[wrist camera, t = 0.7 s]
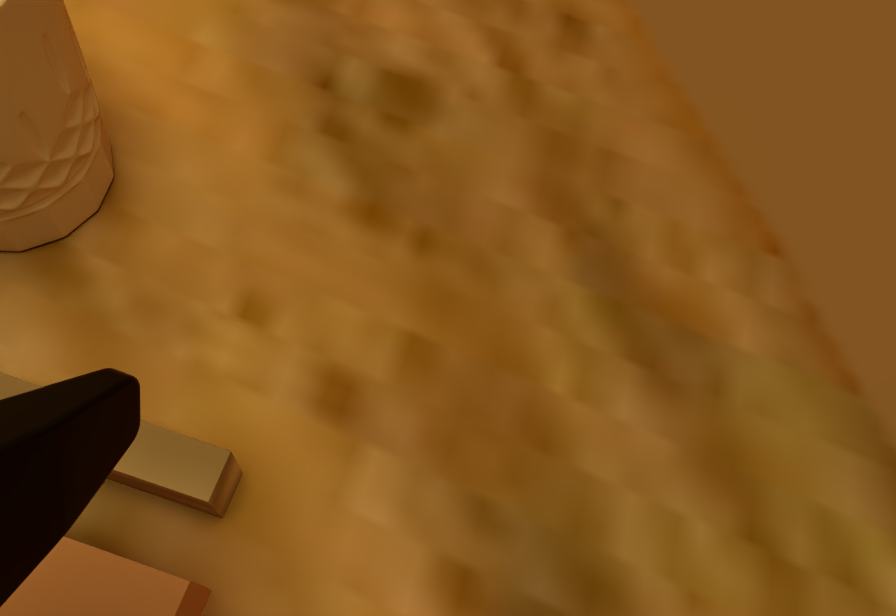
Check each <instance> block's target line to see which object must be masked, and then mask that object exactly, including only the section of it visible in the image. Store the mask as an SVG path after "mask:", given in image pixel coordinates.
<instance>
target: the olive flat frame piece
mask: <svg viewBox="0 0 896 616" xmlns="http://www.w3.org/2000/svg"><path fill="white" fill-rule="evenodd" d="M41 387H42V386H39V385H36V384H33V383H30V382H27V381H24V380H21V379H18V378H15V377H12V376H9V375H7V374H4V373H1V372H0V400H1V399H4V398H8V397H11V396H14V395H18V394H21V393H24V392H28V391H31V390H34V389H38V388H41ZM241 475H242V471H241V469H240V467H239V465H238V464H237V462H236V460H235V458H234V456H233V454H232V452H231V451H229V450H226V449H223V448H220V447H217V446H214V445H211V444H208V443H205V442H202V441H199V440H197V439H194V438H191V437H188V436H185V435H182V434H179V433H176V432H173V431H170V430H167V429H164V428H161V427H159V426H156V425H153V424H150V423H147V422H144V421H141V420H140V427H139V431H138V434H137V436H136V438H135V440H134V441H133V443H132V444H131V446H130V447H129V448H128V450H127V451H126V452H125V454H124V455H123V457H122V458H121V459H120V461H119V462H118V463H117V465H116V466H115V468H114V469H113V470H112V472H111V473H110V474H109V476H108V477H107V479H110V480H113V481H116V482H119V483H122V484H125V485H128V486H131V487H134V488H136V489H139V490H142V491H145V492H148V493H151V494H154V495H157V496H160V497H163V498H166V499H169V500H172V501H175V502H177V503H180V504H183V505H186V506H189V507H192V508H195V509H198V510H201V511H204V512H207V513H210V514H213V515H215V516H218V517H221V518H223V516H224V514H225V512H226V509H227V507H228V505H229V502H230V500H231V498H232V495H233V493H234V491H235V489H236V486H237V484H238V482H239V479H240V477H241Z"/></svg>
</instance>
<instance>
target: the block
mask: <svg viewBox="0 0 896 616" xmlns="http://www.w3.org/2000/svg"><path fill="white" fill-rule="evenodd" d="M210 592H211V590H210V589H208V588H205V587H203V586H201V585H198V584H196V583H193V582H191V581H188V580H185V579H183V578H180V577H177V576H174V575H171V574H168V573H166V572H163V571H160V570H157V569H154V568H152V567H149V566H146V565H143V564H140V563H138V562H135V561H132V560H129V559H126V558H123V557H121V556H118V555H115V554H112V553H109V552H107V551H104V550H101V549H98V548H95V547H93V546H90V545H87V544H84V543H81V542H79V541H76V540H73V539H70V538H67V537H64V536H63V538H62V539H61V540H60V541H59V542H58V543H57V545H56V546H55V547H54V548H53V549H52V550H51V551H50V553H49V554H48V555H47V556H46V557H45V558H44V559H43V560H42V561H41V563H40V564H39V565H38V566H37V567H36V568H35V569H34V570H33V572H32V573H31V574H30V575H29V576H28V577H27V578H26V579H25V580H24V582H23V583H22V584H21V585H20V586H19V587H18V588H17V589H16V591H15V592H14V593H13V594H12V595H11V596H10V597H9V598H8V599H7V601H6V602H5V603H4V604H3V605H2V606H1V607H0V616H200V615H201V613H202V610H203V608H204V606H205V604H206V601H207V599H208V597H209V594H210Z"/></svg>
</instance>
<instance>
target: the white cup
mask: <svg viewBox="0 0 896 616" xmlns="http://www.w3.org/2000/svg"><path fill="white" fill-rule="evenodd" d="M113 178H114V172H113V162H112V152H111V143H110V140H109V137H108V134H107V132H106V129H105V126H104V124H103V121H102V119H101V116H100V111H99V106H98V102H97V98H96V95H95V91H94V88H93V85H92V82H91V79H90V77H89V75H88V71H87V67H86V64H85V60H84V57H83V54H82V51H81V48H80V45H79V42H78V40H77V37H76V34H75V31H74V29H73V26H72V23H71V20H70V17H69V15H68V12H67V9H66V6H65V4H64V1H63V0H0V251H23V250H26V249H30V248H33V247H36V246H39V245H42V244H45V243H48V242H51V241H54V240H57V239H60V238H63V237H65V236H67V235H68V234H69V233H70V232H72V231H73V230H74V229H75V228H76V227H78V226H79V225H80V224H81V223H83V222H84V221H85V220H86V219H88V218H89V217H90V216H91V215H93V214H94V213H95V212H96V211H97V210H98V209H99V207H100V205H101V203H102V201H103V198H104V196H105V194H106V192H107V190H108V188H109V186H110V184H111V182H112V180H113Z"/></svg>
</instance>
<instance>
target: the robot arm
mask: <svg viewBox="0 0 896 616" xmlns="http://www.w3.org/2000/svg"><path fill="white" fill-rule="evenodd" d="M139 427H140V384H139V382H138V380H137V378H135V377H134V376H132V375H129V374H126V373H124V372H121V371H118V370H116V369H112V368H106V369H101V370H98V371H94V372H91V373H88V374H84V375H81V376H78V377H74V378H71V379H68V380H64V381H61V382H58V383H54V384H51V385H48V386H44V387H41V388H38V389H34V390H31V391H28V392H24V393H21V394H18V395H14V396H11V397H8V398H4V399H1V400H0V607H1V606H2V605H3V604H4V603H5V602H6V601H7V599H8V598H9V597H10V596H11V595H12V594H13V593H14V592H15V591H16V589H17V588H18V587H19V586H20V585H21V584H22V583H23V582H24V580H25V579H26V578H27V577H28V576H29V575H30V574H31V573H32V572H33V570H34V569H35V568H36V567H37V566H38V565H39V564H40V563H41V561H42V560H43V559H44V558H45V557H46V556H47V555H48V554H49V553H50V551H51V550H52V549H53V548H54V547H55V546H56V545H57V543H58V542H59V541H60V540H61V539H62V538H63V536H64V535H65V534H66V533H67V532H68V530H69V529H70V528H71V526H72V525H73V524H74V522H75V521H76V520H77V519H78V517H79V516H80V514H81V513H82V512H83V510H84V509H85V508H86V506H87V505H88V503H89V502H90V501H91V499H92V498H93V497H94V495H95V494H96V492H97V491H98V490H99V488H100V487H101V486H102V484H103V483H104V481H105V480H106V479H107V477H108V476H109V474H110V473H111V472H112V470H113V469H114V468H115V466H116V465H117V463H118V462H119V461H120V459H121V458H122V457H123V455H124V454H125V452H126V451H127V450H128V448H129V447H130V446H131V444H132V443H133V441H134V440H135V438H136V436H137V434H138V431H139Z"/></svg>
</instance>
